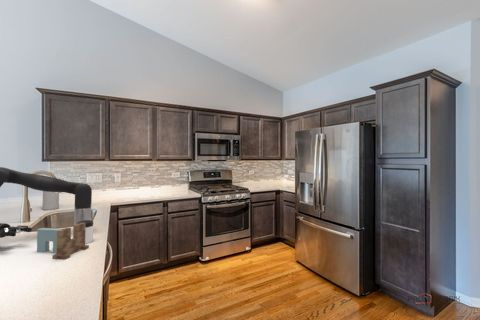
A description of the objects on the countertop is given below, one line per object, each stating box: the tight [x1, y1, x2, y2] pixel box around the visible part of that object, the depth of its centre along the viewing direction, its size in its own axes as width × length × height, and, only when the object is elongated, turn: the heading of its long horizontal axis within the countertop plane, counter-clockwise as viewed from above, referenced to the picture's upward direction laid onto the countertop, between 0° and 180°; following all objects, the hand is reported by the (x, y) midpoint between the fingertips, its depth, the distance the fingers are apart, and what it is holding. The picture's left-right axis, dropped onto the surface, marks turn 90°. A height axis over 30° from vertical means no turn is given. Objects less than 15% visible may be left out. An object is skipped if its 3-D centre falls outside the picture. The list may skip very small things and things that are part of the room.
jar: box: [77, 219, 94, 245], centre depth 145 cm, size 9×8×12 cm
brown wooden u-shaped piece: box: [51, 223, 90, 260], centre depth 127 cm, size 16×7×14 cm, turn 174°
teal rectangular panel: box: [36, 227, 62, 254], centre depth 129 cm, size 14×2×12 cm, turn 84°
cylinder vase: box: [42, 191, 60, 211], centre depth 235 cm, size 12×12×25 cm
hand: (23, 231), depth 130 cm, fingers open, 8 cm apart
